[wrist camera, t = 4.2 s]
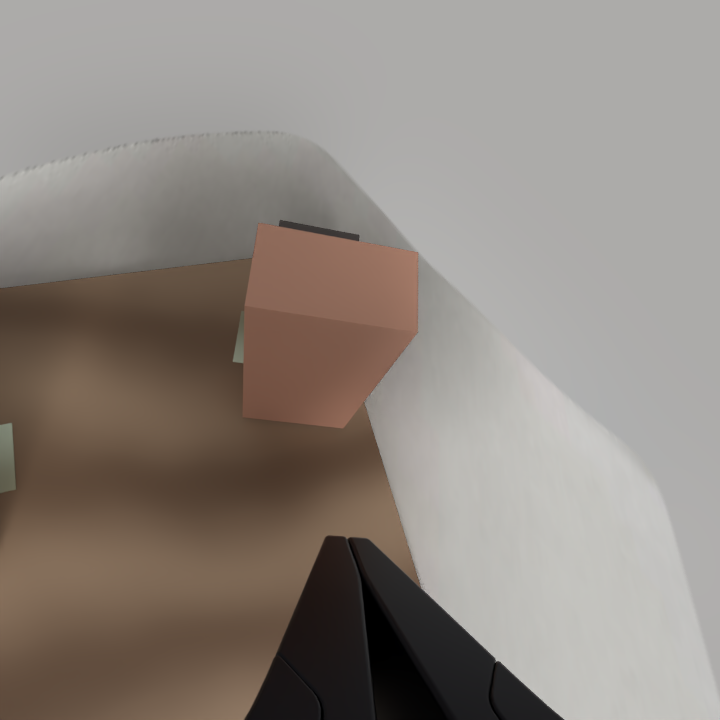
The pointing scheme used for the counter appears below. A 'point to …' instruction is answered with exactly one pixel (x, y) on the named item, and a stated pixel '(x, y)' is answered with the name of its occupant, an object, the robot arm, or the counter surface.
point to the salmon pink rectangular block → (323, 324)
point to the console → (158, 499)
